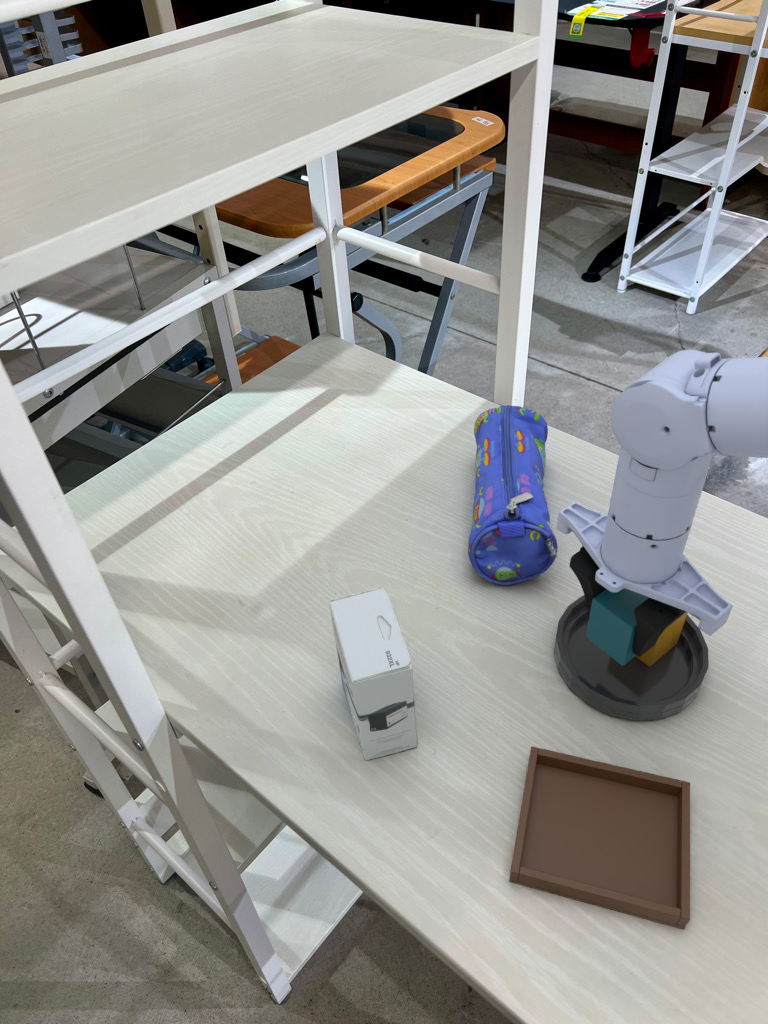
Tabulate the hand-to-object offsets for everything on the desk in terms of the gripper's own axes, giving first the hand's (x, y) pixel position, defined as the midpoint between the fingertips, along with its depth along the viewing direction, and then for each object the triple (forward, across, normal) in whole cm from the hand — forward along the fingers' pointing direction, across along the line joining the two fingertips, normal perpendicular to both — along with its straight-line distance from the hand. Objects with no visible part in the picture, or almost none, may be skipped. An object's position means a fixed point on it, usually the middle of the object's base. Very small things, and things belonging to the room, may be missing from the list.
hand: (620, 631), depth 62 cm
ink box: (+7, -10, -18) cm, 22 cm away
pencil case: (+7, -21, +8) cm, 23 cm away
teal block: (+1, 0, 0) cm, 1 cm away
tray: (+7, +9, -12) cm, 16 cm away
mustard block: (+6, 0, +5) cm, 8 cm away
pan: (+7, 0, +3) cm, 7 cm away
